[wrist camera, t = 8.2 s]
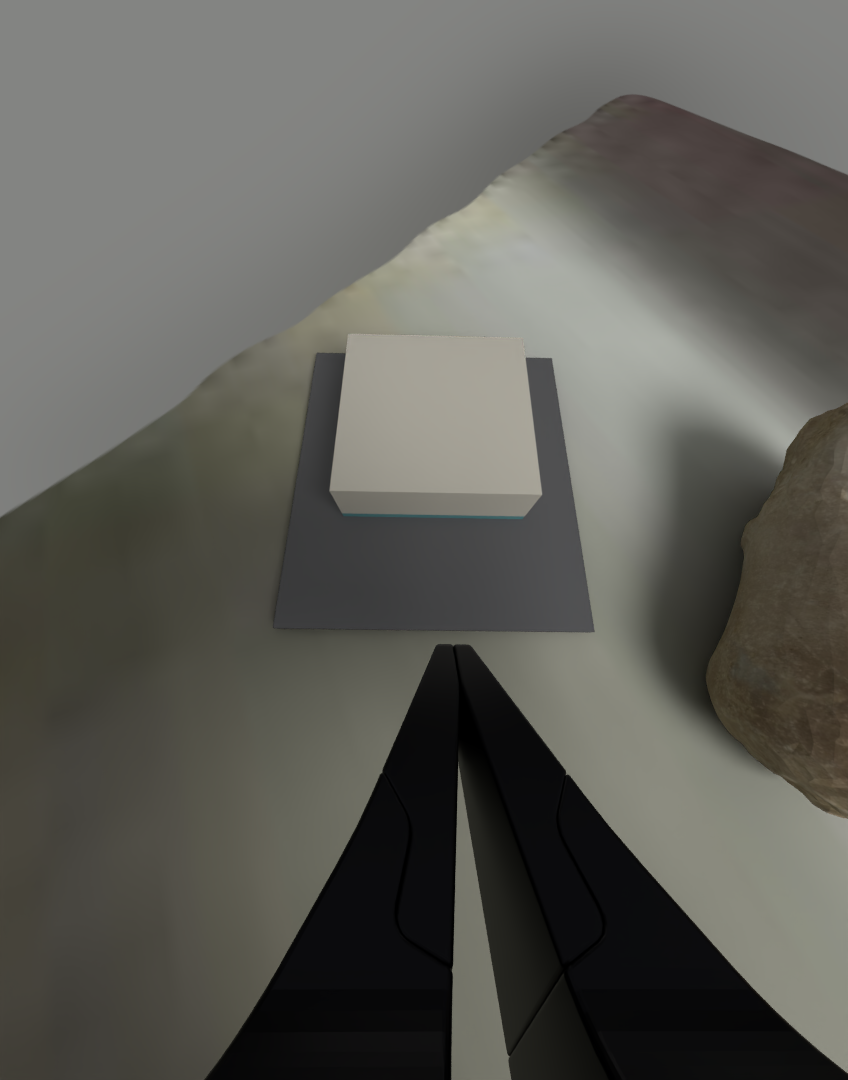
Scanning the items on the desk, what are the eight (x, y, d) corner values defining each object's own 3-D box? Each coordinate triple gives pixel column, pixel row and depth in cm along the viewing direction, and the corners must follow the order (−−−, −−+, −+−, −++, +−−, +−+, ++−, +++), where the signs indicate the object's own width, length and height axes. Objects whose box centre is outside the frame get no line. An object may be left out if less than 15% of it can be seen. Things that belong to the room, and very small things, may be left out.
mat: (589, 632, 16) (594, 631, 16) (277, 628, 16) (272, 627, 16) (548, 364, 22) (551, 358, 22) (318, 359, 22) (316, 352, 22)
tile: (542, 494, 15) (523, 337, 18) (329, 491, 15) (348, 333, 18) (522, 519, 18) (508, 379, 21) (343, 516, 18) (357, 376, 21)
